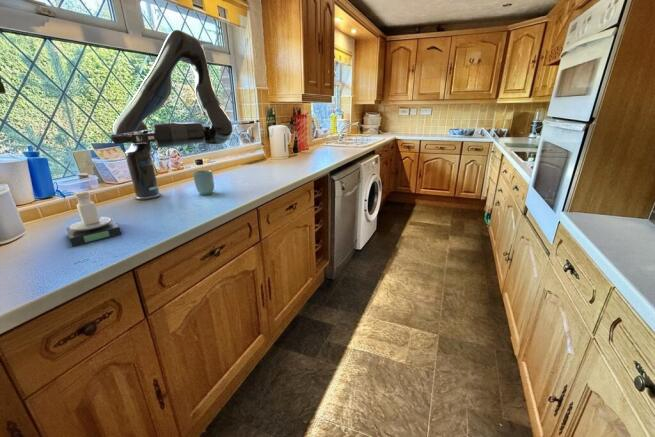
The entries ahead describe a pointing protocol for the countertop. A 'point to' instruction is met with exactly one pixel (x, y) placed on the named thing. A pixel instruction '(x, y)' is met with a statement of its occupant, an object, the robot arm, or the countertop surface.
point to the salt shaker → (87, 208)
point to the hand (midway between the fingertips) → (112, 139)
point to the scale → (92, 231)
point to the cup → (204, 181)
